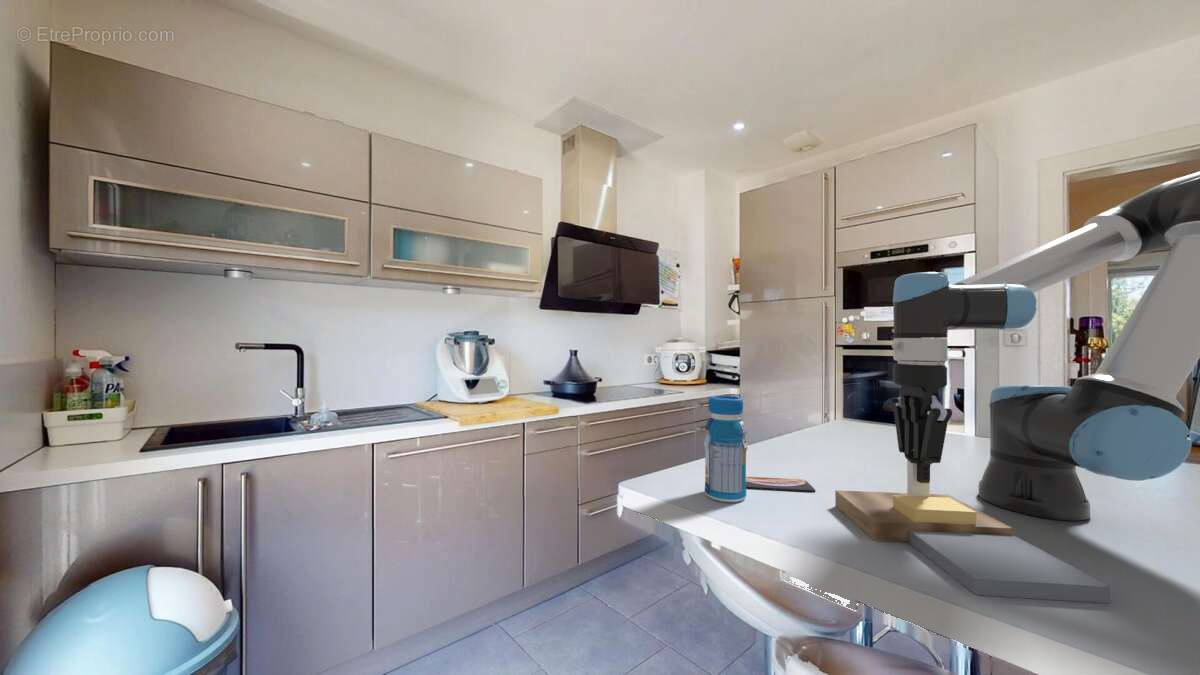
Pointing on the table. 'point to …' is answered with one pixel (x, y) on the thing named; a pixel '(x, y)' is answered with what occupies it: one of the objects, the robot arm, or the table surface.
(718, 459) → the beverage bottle
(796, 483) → the smartphone
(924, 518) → the tile
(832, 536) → the table surface
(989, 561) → the mat
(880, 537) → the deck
